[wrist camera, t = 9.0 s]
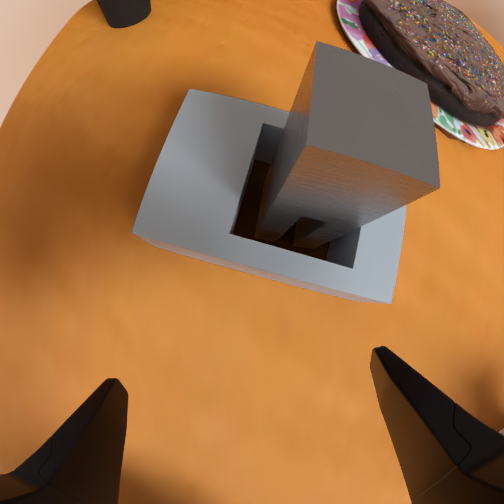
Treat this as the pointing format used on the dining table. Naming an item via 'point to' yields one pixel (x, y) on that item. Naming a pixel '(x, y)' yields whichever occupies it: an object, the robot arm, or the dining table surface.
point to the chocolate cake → (435, 61)
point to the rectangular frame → (230, 198)
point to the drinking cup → (124, 11)
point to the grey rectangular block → (348, 149)
